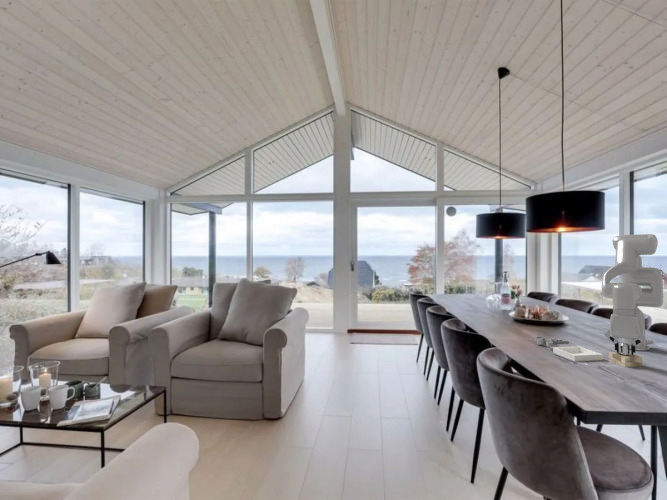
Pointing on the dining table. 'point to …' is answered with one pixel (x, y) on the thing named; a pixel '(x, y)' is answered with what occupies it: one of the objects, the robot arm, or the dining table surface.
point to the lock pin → (625, 349)
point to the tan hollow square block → (625, 359)
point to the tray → (577, 353)
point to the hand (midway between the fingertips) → (625, 352)
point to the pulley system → (549, 342)
